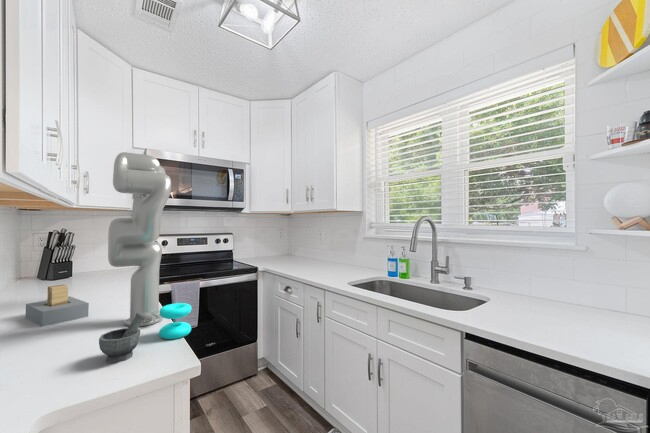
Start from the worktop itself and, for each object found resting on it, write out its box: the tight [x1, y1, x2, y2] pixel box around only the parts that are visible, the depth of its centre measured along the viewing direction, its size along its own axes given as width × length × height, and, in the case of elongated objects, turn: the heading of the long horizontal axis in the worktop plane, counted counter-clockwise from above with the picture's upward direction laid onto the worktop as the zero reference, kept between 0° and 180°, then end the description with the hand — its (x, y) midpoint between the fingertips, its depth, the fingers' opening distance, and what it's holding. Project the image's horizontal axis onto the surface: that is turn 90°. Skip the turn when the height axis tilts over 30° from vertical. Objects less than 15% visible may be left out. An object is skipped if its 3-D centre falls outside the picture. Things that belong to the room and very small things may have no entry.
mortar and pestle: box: [98, 313, 146, 364], centre depth 84 cm, size 11×9×12 cm
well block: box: [25, 295, 90, 328], centre depth 119 cm, size 20×14×6 cm
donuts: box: [158, 302, 192, 340], centre depth 101 cm, size 10×10×10 cm
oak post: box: [46, 284, 69, 307], centre depth 119 cm, size 5×5×12 cm
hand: (141, 231), depth 139 cm, fingers open, 9 cm apart
